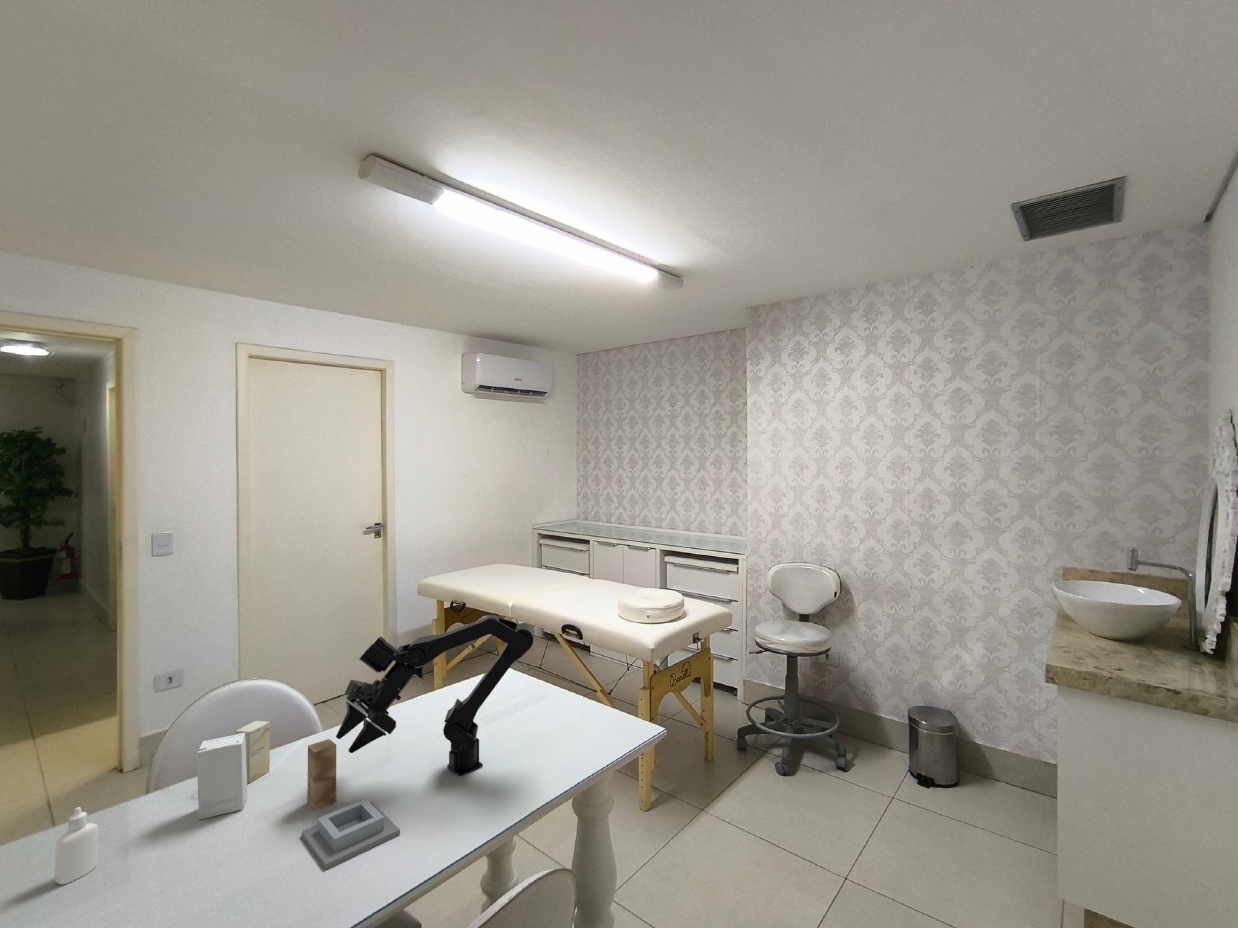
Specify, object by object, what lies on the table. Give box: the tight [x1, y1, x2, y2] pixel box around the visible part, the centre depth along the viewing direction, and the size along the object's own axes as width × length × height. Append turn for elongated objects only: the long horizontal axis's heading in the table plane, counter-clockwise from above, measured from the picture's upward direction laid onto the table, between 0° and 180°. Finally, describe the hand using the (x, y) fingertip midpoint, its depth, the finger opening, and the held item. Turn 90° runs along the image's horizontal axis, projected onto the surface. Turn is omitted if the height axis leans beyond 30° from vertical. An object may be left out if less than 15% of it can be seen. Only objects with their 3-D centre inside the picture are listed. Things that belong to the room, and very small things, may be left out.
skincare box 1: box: [196, 733, 248, 821], centre depth 122 cm, size 8×6×15 cm
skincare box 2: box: [234, 720, 271, 784], centre depth 135 cm, size 6×4×12 cm
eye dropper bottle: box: [54, 806, 99, 885], centre depth 102 cm, size 4×6×12 cm
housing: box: [300, 798, 401, 870], centre depth 112 cm, size 14×14×4 cm
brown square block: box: [306, 738, 337, 811], centre depth 124 cm, size 4×4×12 cm
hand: (343, 744), depth 127 cm, fingers open, 9 cm apart
